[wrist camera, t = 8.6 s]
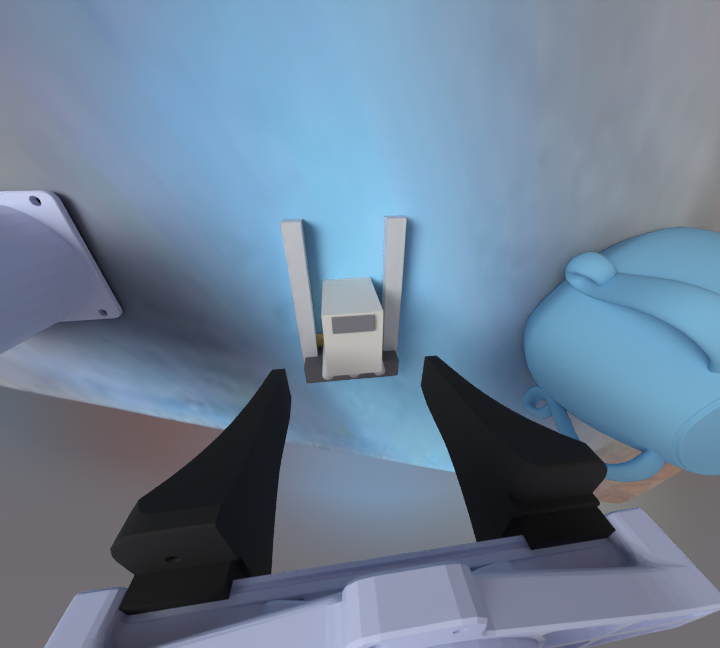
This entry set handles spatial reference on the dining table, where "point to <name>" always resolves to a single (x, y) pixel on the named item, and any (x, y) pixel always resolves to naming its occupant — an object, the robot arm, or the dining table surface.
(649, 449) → the decorative pot
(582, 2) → the dining table surface
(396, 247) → the socket
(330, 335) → the plug block
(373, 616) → the robot arm
